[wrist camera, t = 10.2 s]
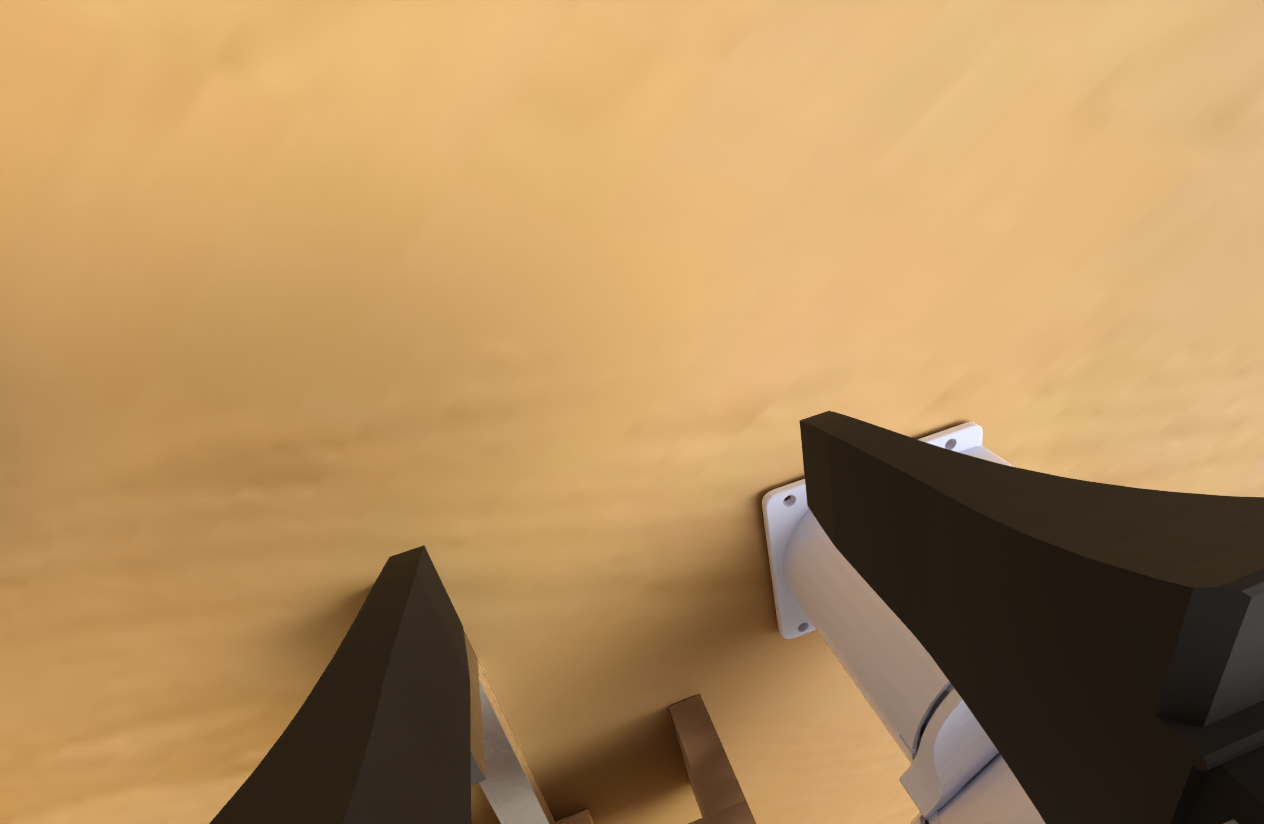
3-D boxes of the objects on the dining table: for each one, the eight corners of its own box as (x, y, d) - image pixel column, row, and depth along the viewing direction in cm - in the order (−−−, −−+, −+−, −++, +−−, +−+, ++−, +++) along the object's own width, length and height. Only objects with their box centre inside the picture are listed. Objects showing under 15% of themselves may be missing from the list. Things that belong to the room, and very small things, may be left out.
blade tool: (332, 597, 22) (306, 721, 18) (476, 548, 22) (485, 656, 18) (491, 861, 30) (500, 989, 26) (592, 820, 31) (617, 938, 27)
